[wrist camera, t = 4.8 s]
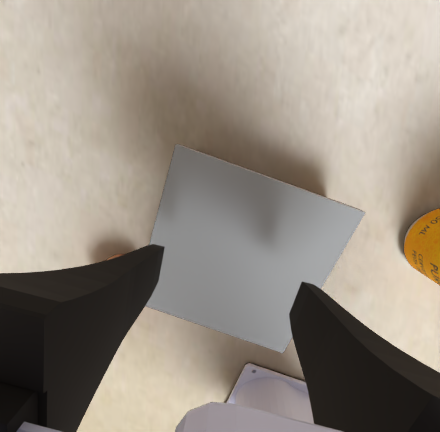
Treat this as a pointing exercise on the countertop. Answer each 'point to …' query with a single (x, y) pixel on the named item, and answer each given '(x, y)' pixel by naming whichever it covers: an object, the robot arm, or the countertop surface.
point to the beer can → (425, 245)
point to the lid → (242, 246)
